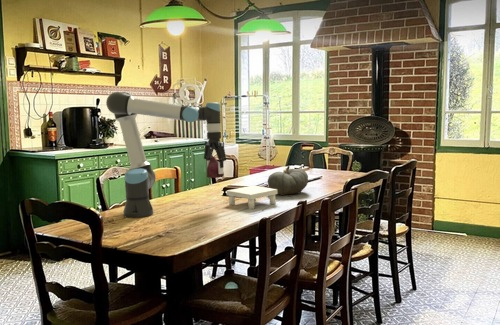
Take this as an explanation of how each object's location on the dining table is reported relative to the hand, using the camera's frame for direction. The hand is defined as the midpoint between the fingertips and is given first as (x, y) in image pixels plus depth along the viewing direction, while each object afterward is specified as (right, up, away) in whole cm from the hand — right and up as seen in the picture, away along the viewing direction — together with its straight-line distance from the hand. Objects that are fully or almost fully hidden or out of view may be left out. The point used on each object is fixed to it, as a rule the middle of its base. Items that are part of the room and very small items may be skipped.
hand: (215, 172), depth 264 cm
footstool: (+20, -18, +8) cm, 28 cm away
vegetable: (0, -2, 0) cm, 2 cm away
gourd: (+42, -14, +37) cm, 58 cm away
